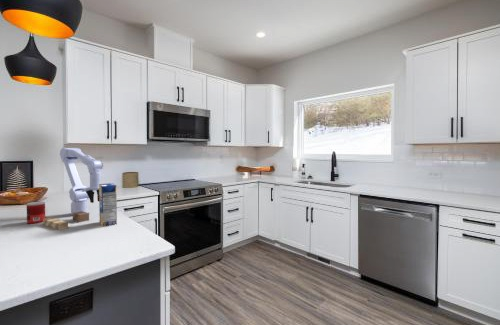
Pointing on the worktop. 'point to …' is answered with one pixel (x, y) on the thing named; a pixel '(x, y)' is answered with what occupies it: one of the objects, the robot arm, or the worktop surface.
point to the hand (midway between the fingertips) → (95, 201)
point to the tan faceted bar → (55, 223)
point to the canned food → (35, 212)
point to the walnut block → (80, 216)
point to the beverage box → (108, 204)
